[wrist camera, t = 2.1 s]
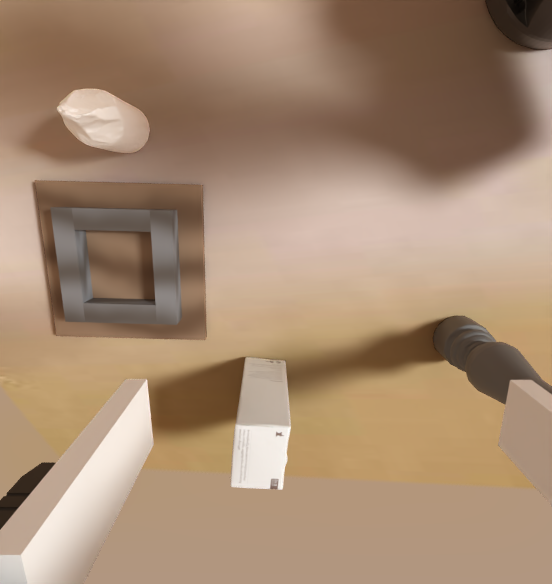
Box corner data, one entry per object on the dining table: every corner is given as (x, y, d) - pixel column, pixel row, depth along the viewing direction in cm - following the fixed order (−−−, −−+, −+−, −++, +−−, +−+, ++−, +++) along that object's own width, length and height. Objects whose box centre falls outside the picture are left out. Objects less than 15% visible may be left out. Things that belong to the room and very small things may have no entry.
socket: (39, 180, 44) (20, 179, 41) (202, 185, 44) (196, 184, 41) (60, 333, 49) (44, 343, 46) (206, 337, 49) (201, 347, 46)
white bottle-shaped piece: (97, 67, 30) (108, 139, 32) (147, 102, 42) (153, 154, 43) (27, 71, 30) (41, 142, 32) (96, 105, 42) (104, 156, 44)
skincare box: (245, 355, 50) (231, 419, 36) (288, 359, 50) (292, 425, 36) (240, 408, 52) (226, 489, 38) (282, 412, 52) (283, 494, 38)
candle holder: (479, 354, 50) (669, 503, 26) (434, 361, 50) (579, 515, 26) (478, 312, 48) (678, 429, 24) (431, 319, 48) (583, 442, 24)
